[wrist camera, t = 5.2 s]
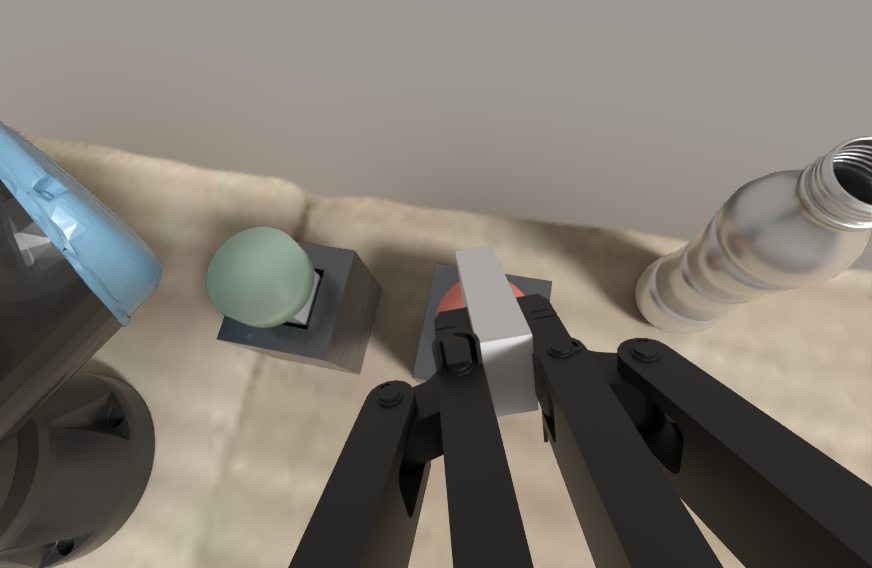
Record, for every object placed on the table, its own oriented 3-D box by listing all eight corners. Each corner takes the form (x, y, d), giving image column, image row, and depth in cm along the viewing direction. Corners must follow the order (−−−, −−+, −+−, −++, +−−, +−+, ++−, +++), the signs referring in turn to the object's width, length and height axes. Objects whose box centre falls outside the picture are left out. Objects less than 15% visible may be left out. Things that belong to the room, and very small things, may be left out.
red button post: (427, 388, 36) (412, 377, 27) (444, 298, 38) (436, 263, 30) (521, 406, 35) (537, 402, 26) (534, 313, 37) (552, 281, 29)
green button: (267, 340, 34) (191, 311, 25) (289, 271, 36) (225, 220, 27) (337, 354, 33) (285, 328, 24) (356, 282, 35) (314, 234, 26)
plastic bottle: (619, 270, 38) (766, 118, 19) (698, 262, 37) (929, 98, 18) (636, 342, 36) (820, 253, 17) (719, 334, 35) (1004, 233, 16)
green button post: (274, 357, 38) (216, 339, 29) (300, 274, 40) (253, 234, 32) (359, 374, 37) (325, 360, 28) (380, 287, 39) (354, 250, 31)
